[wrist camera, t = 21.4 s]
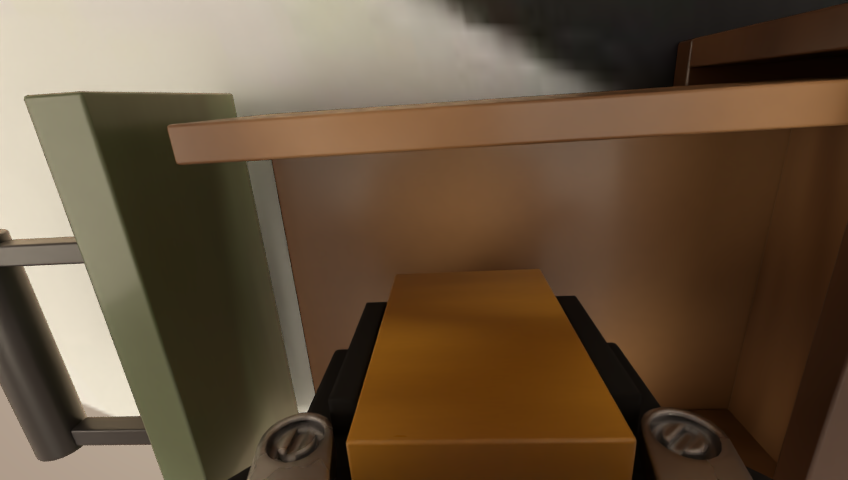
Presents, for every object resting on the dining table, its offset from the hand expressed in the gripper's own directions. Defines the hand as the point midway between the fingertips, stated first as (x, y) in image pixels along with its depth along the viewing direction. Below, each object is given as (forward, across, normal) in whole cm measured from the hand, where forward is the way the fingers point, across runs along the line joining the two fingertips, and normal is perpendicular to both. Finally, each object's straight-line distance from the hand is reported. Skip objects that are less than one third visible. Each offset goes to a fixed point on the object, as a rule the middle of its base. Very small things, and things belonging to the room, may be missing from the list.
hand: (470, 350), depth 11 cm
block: (+1, 0, 0) cm, 1 cm away
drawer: (+4, +2, 0) cm, 4 cm away
